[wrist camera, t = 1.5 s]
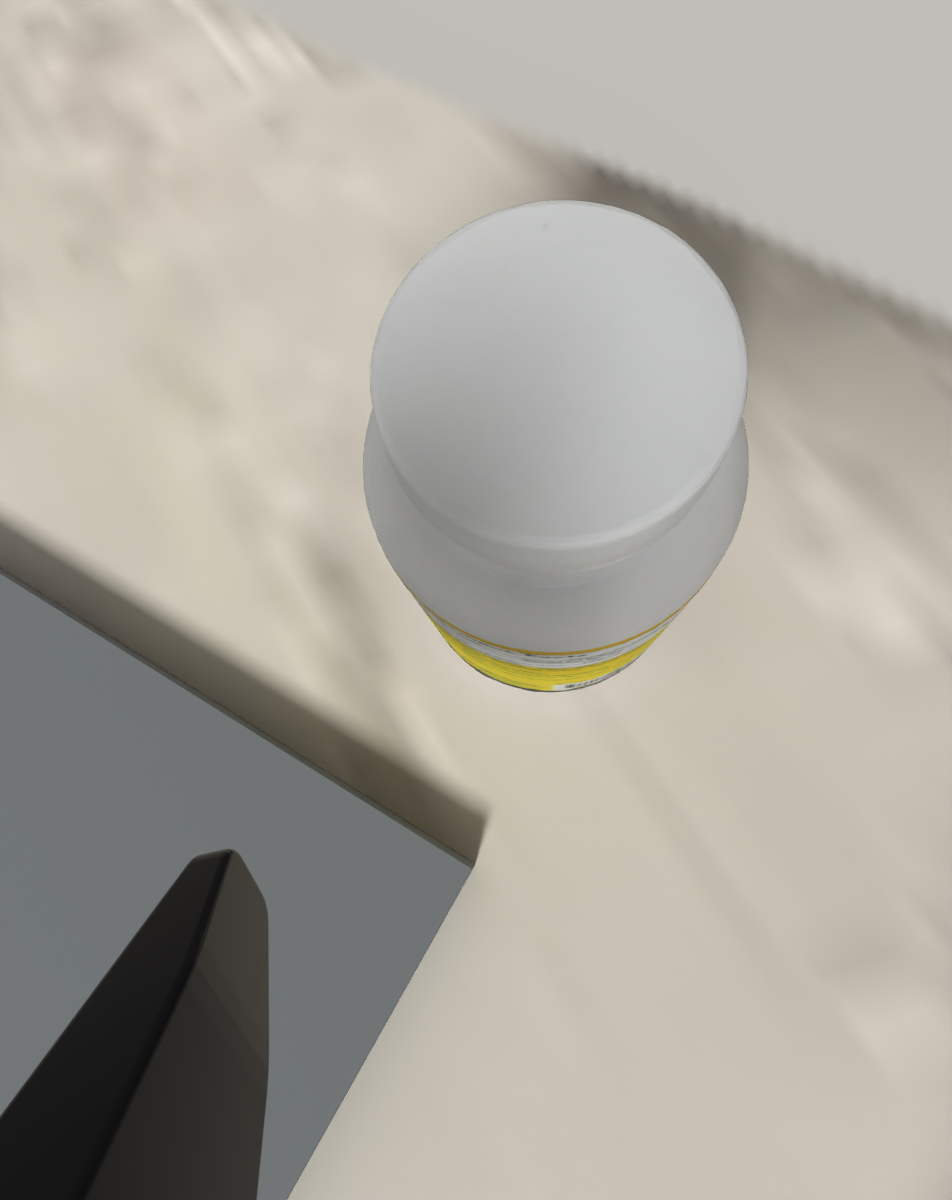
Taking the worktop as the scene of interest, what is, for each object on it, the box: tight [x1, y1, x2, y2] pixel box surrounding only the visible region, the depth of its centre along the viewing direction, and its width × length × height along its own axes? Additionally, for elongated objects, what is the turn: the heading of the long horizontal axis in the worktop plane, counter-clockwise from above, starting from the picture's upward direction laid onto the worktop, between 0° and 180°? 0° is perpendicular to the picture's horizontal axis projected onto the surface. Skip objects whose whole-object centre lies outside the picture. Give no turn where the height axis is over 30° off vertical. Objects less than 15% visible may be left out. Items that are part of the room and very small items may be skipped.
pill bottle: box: [363, 200, 748, 693], centre depth 15 cm, size 6×6×11 cm
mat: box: [0, 568, 475, 1200], centre depth 19 cm, size 16×14×1 cm
